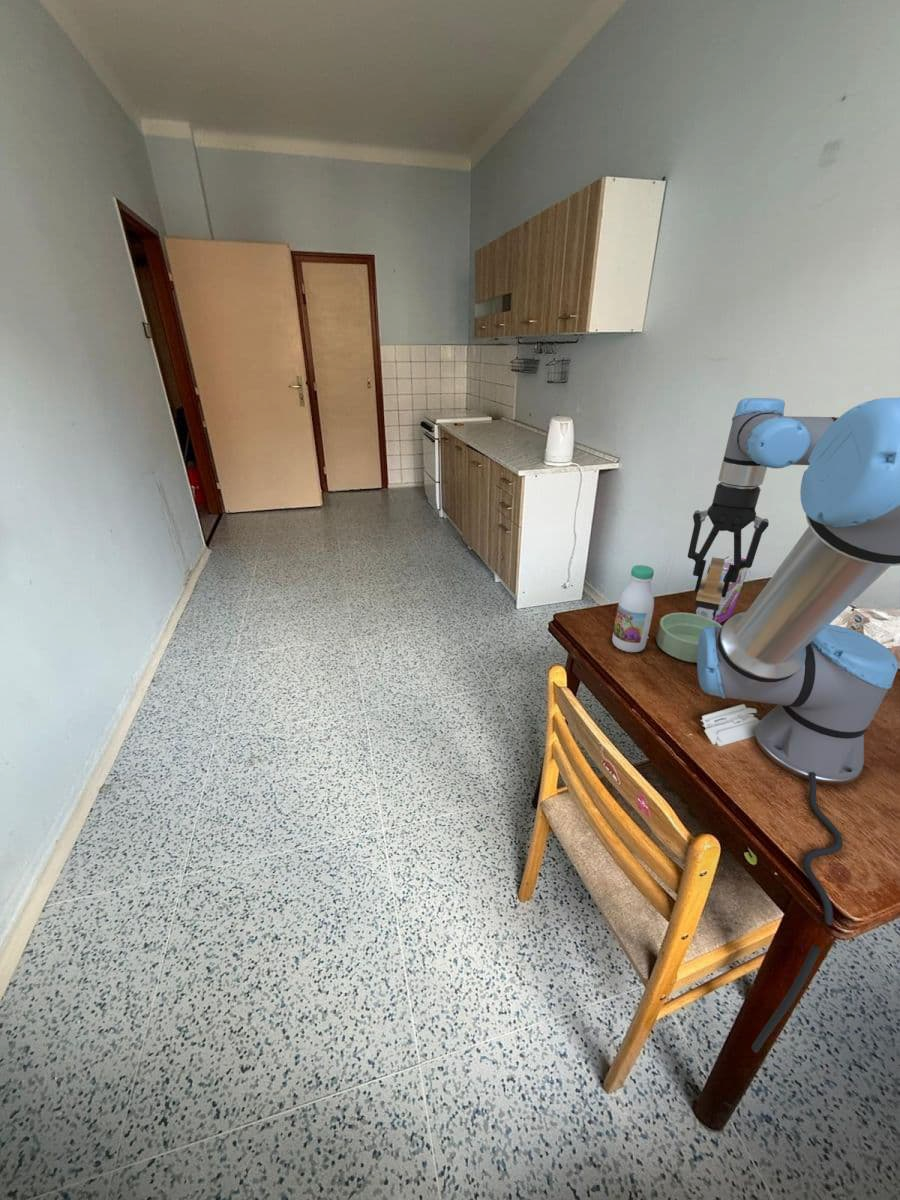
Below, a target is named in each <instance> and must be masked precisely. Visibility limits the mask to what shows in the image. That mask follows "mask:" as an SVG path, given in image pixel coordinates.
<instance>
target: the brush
mask: <svg viewBox="0 0 900 1200" xmlns="http://www.w3.org/2000/svg"><path fill="white" fill-rule="evenodd" d="M724 561H725V559H724V558H720V557H713V556H712V557H711V560H710V564H709V565H710V568H709V567H708V568H709V572H708V576H707V580H705V579H702V580H701V584H700V587H699V590H698V592H697V594H696V597H695V603H694V607H696V608H697V607H700V608H705V609H710V610H715V611H718V609H719V605H720V601H721V597H722V592H723V587H724V583H719V582H720V578H721V574H722V570H723V565H724Z"/></svg>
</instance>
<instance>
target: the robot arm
mask: <svg viewBox="0 0 900 1200" xmlns="http://www.w3.org/2000/svg"><path fill="white" fill-rule="evenodd" d="M785 406H786V402H785V400H783V399H782V398H775V397H745V398H741V399H740V400H739V401H738V403H737V405H736V408H735V411H734V414H733V416H732V418H731V421H732V422H731V425H730V430H729V434H728V438H727V442H726V447H725V450H724V455H723V460H722V462H721V467H720V471H719V475H718V478H717V480H718V482H719V483H718V484H716V486H715V491H714V494H713V499H712V503H711V505H710V506H709V507H708V509H705V510H699V509H698V510H695V511H694V512H693V515H692V518H693V529H692V535H691V539H690V542H689V547H688V552H687V558H688V559H690V560H693V561H694V562H695V563H694V566H693V567H694V568H693V571H692V576H694V577H697V579H696V580H697V581H696V584H695V588H694V592H695V593H698V590H699V587H700V584H701V580H703V575H704V572H705V568H706V563H707V559H705V557H706V556H707V554H708V552H709V550H710V548H711V546H712V544H714V541H715V539H716V537H717V536H718V534H719V532H730V533H733V555H734V565H731V564H730V566H729V569H728V573H727V576H726V580H725V583H724V587H723V592H722V597H726V593H727V590H728V586H729V583H730V582H732V583H735V582H736V581H737V578H738V574H739V571H740V569H741V568H748V569H750V568H752V566H753V563H754V560H755V557H756V554H757V551H758V549H759V548H758V547H759V545H760V541H761V538H762V535H763V533H764V532H765V531H766V530H767V528H768V527H769V523H770V522H769V519H768V518H763V517H760V516H758V515H757V513H756V507H757V504H758V500H759V497H760V493H761V488H760V486H762V485H763V484H764V480H765V477H766V473H767V470H768V468H769V469H784V468H786V467H790V466H808V467H807V468H806V469H805V470H804V471H803V475H802V477H801V478H802V479H801V482H800V491H799V493H800V495H799V496H800V504H801V507H802V509H803V512H804V513H805V518H806V522H807V524H808V527H807V528H806V530H805V531H804V532H803V534H802V535H801V536H800V538H799V539H798V540H797V542H796V543H795V544H794V546H793V547H792V549H791V550H790V551H789V553H788V554H787V555H786V557H785V559H784V560H783V561H782V562H781V563H780V565H779V566H778V567H777V569H776V570H775V572H774V573H773V575H772V576H771V578H770V579H769V580H768V582H767V583H766V584H765V586H764V587H763V588H762V590H761V591H760V593H759V594H758V595H757V596H756V598H755V599H754V601H753V602H752V603H751V605H750V606H749V607H748V609H747V610H746V611H743V612H739V613H735V614H733V615H732V617H730V618H728V619H727V620H725V622H724V624H723V625H722V626H723V627H717V626H716V625H713V626H705V627H704V628H703V629H702V630H701V633H700V636H699V642H698V653H697V663H696V665H697V666H696V667H697V679H698V683H699V686H700V689H701V690H702V691H703V692H704V693H705V694H706V695H710V696H716V697H721V698H722V699H734V700H740V701H747V702H756V703H762V704H770V705H775V706H774V707H773V708H772V709H771V710H769V712H768V713H766V714H765V715H764V716H763V717H762V718H761V720H760V721H759V722H758V724H757V726H756V729H755V732H754V737H755V742H756V744H757V746H758V747H759V749H760V751H761V752H762V753H763V754H764V756H766V757H767V759H769V760H770V761H771V762H772V763H774V764H775V765H776V766H778V767H780V768H781V769H782V770H784V771H785V772H787V773H789V774H791V775H793V776H795V777H797V778H799V779H803V780H805V781H807V782H809V791H808V792H809V793H808V801H809V804H810V807H811V809H812V811H813V812H814V814H815V815H816V817H817V818H818V819H819V820H820V821H821V822H822V824H824V825H825V826H826V827H827V829H828V830H829V831H830V833H831V834H832V835H833V837H834V843H833V844H832V845H830V846H826V847H821V848H816V849H812V850H810V851H808V852H806V853H805V854H804V856H803V858H802V868H803V871H804V874H805V876H806V877H807V879H808V880H809V882H810V883H811V885H812V886H813V887H814V889H815V890H816V892H817V894H818V896H819V897H820V900H821V902H822V905H823V918H824V922H825V924H827V925H828V926H833V925H834V910H833V906H832V902H831V900H830V897H829V894H828V893H827V892H826V890H825V888H824V886H823V885H822V884H821V883H820V881H819V880H818V878H817V877H816V875H815V874H814V872H813V870H812V867H811V865H812V861H813V860H814V859H815V858H819V857H823V856H829V855H834V854H835V853H838V852H839V851H840V850H841V849H842V848H843V844H844V842H843V841H844V840H843V837H842V834H841V833H840V831H839V830H838V828H837V827H836V826H835V824H833V823H832V821H831V820H829V818H828V817H827V815H825V814H824V813H823V812H822V810H821V808H820V807H819V805H818V802H817V784H820V785H825V786H846V785H849V784H851V783H854V782H856V780H857V779H858V778H859V777H860V774H861V773H862V771H863V768H864V764H865V733H866V731H867V730H868V728H869V726H870V724H871V723H872V721H873V719H874V717H875V715H876V713H877V711H878V709H879V708H880V705H881V704H882V702H883V700H884V698H885V696H886V694H887V693H888V691H889V690H890V689H891V688H893V684H894V680H895V677H896V675H897V672H898V669H899V663H898V660H897V658H896V656H895V655H894V654H893V652H892V651H891V650H890V649H889V648H887V647H886V646H885V645H883V644H882V643H881V642H879V641H877V640H876V639H874V638H872V637H870V636H867V635H866V634H864V633H861V632H860V631H856V630H854V629H850V628H848V627H843V626H839V625H835V624H832V622H834V620H836V619H837V618H838V617H839V616H840V615H841V614H842V613H843V612H844V611H845V610H846V609H847V608H849V606H850V605H852V604H853V603H854V602H855V601H856V600H857V599H858V598H859V597H860V596H861V595H862V594H863V593H864V592H865V591H867V589H868V588H869V587H870V586H871V585H873V584H874V582H876V581H877V580H878V579H879V578H880V577H881V576H882V575H883V574H884V573H885V572H886V571H887V570H889V568H890V567H896V566H900V397H899V396H898V397H880V398H875V399H872V400H867V401H864V402H861V403H859V404H857V405H855V406H854V407H851V408H850V409H848V410H846V411H845V412H844V413H843V414H841V415H840V416H839V417H838V416H837V417H835V416H797V415H796V416H794V415H793V416H792V415H791V416H790V415H789V416H788V415H787V416H785V415H784V414H785V413H784V411H785ZM707 517H709V520H710V521H711V523H712V528H711V529H710V532H709V534H708V535H707V537H706V539H705V541H704V543H703V544H702V546H701V549H700V550H699V552H696V550H697V546H698V542H699V537H700V533H701V528H702V524H703V523H704V522H705V520H706V518H707ZM751 523H754V524H753V528H754V532H753V535H752V538H751V541H750V544H749V548H748V550H747V552H746V553H747V554H746V557H745V559H746V560H741V558H742V530H743V529H744V528H746V527H747V526H749V524H751ZM821 951H822V948H820V947H818V946H816V945H814V944H812V945H811V947H810V949H809V950H808V954H807V955H806V957H805V960H804V962H803V964H802V966H801V968H800V970H799V972H798V973H797V975H796V978H795V980H793V983H792V985H791V986H790V987H789V990H788V991H787V993H786V995H785V996H784V997H783V999H782V1001H781V1002H780V1003H779V1005H778V1007H777V1008H776V1010H775V1011H774V1012H773V1014H772V1015H771V1017H770V1018H769V1019H768V1021H767V1022H766V1024H765V1025H764V1027H763V1028H762V1029H761V1031H760V1033H759V1034H758V1036H757V1037H756V1038H755V1040H754V1041H753V1044H752V1045H751V1050H752V1051H753V1052H754V1053H756V1054H758V1052H759V1051H760V1050H761V1048H762V1046H763V1045H764V1043H765V1042H766V1041H767V1039H768V1037H769V1036H770V1035H771V1034H772V1032H773V1031H774V1029H775V1028H776V1026H777V1025H778V1024H779V1023H780V1021H781V1020H782V1018H783V1017H784V1016H785V1014H786V1013H787V1011H788V1010H789V1009H790V1007H791V1006H792V1004H793V1002H794V1001H795V999H796V998H797V996H798V995H799V993H800V991H801V989H802V988H803V986H804V984H805V983H806V981H807V979H808V977H809V975H810V974H811V971H812V969H813V967H814V966H815V964H816V962H817V959H818V957H819V955H820V953H821Z"/></svg>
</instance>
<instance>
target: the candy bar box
mask: <svg viewBox="0 0 900 1200" xmlns="http://www.w3.org/2000/svg"><path fill="white" fill-rule="evenodd" d="M723 559H725V561H724V565H723V570H722V574H721V578H720V582H719V583H725V580H726V576H727V573H728V569H729V566H730V564H731V565H734V554H731V555H729V556H726V557H724V558H723ZM741 560H746V558H744V557H741ZM709 568H710V564H709V565H708V568H707V570H706V575H705V579H704V580H707V576H708V572H709ZM748 569H749V568H741V569H740V571H739V574H738V578H737V581H736V582H735V583H732V582H730V583H729V586H728V590H727V593H726V597H721V601H720V605H719V609H718V611H715V610H710V609H705V608H700V607H696V609H695V613H694V614H696V615H701V616H704V617H707V618H710V619H712V620H714V621H716V622H717V623H719V624H720V625H721V623H723V622H726V621H727V620H728V619H729V618H731V617H732V616H734V612H735V608H736V606H737V602H738V600H739V596H740V593H741V590H742V587H743V584H744V581H745V579H746V576H747V572H748Z"/></svg>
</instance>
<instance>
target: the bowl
mask: <svg viewBox="0 0 900 1200" xmlns="http://www.w3.org/2000/svg"><path fill="white" fill-rule="evenodd" d="M713 625H716V626H717V627H723V625H722V624H721V623H720V624H719V623H717V622H716V621H714V620H712V619H710V618H707V617H704V616H701V615H696V614H695V613H691V612H672V613H668V614H664V616H662V617H661V618H660V621H659V624H658V628H657V632H656V636H655V641H656V645H657V647H659V649H661V651H663V652H664V653H665V654H667V655H668V656H670V657H673V658H676V659H677V660H681V661H685V662H688V663H695V664H697V653H698V642H699V636H700V633H701V630H702V629H703V628H704V627H705V626H713Z"/></svg>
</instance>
